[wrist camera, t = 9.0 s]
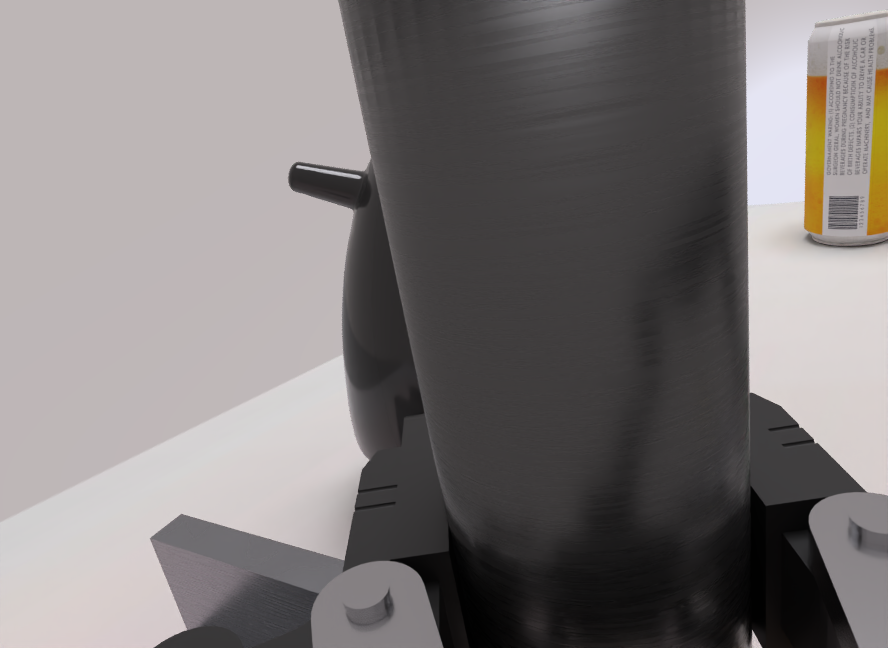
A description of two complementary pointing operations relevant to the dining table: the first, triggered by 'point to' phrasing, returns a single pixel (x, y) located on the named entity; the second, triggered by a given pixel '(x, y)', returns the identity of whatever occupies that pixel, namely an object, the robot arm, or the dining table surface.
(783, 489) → the robot arm
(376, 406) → the pump dispenser
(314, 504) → the dining table surface
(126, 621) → the dining table surface
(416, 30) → the copper and grey mallet
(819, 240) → the beer can
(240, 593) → the guide channel
